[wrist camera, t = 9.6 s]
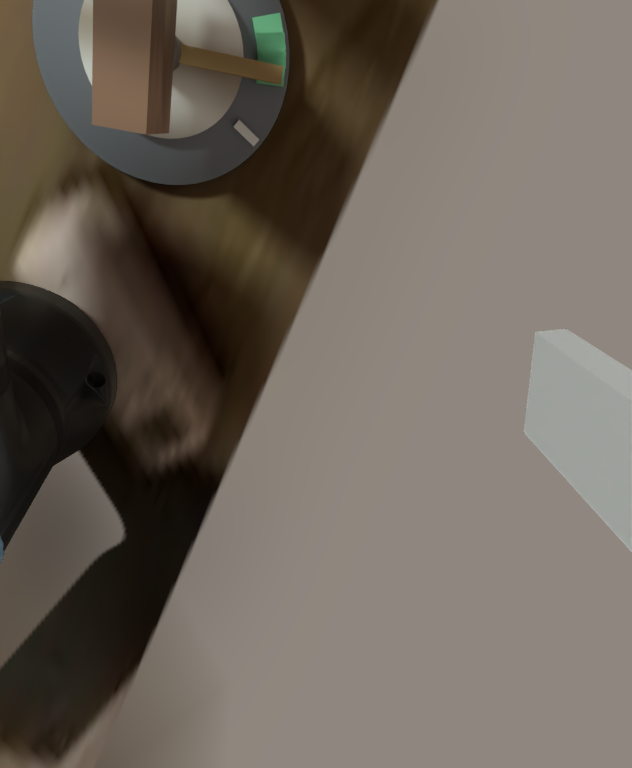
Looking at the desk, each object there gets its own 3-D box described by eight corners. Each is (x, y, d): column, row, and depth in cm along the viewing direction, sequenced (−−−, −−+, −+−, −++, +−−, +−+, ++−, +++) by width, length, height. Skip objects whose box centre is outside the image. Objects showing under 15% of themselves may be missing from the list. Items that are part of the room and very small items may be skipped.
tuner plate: (189, 229, 41) (187, 233, 40) (-9, 59, 35) (-22, 55, 34) (336, 52, 37) (340, 49, 36) (140, -171, 32) (134, -187, 30)
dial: (270, 157, 38) (279, 170, 27) (81, 122, 36) (2, 120, 24) (292, -13, 34) (315, -85, 23) (82, -64, 32) (-12, -172, 20)
